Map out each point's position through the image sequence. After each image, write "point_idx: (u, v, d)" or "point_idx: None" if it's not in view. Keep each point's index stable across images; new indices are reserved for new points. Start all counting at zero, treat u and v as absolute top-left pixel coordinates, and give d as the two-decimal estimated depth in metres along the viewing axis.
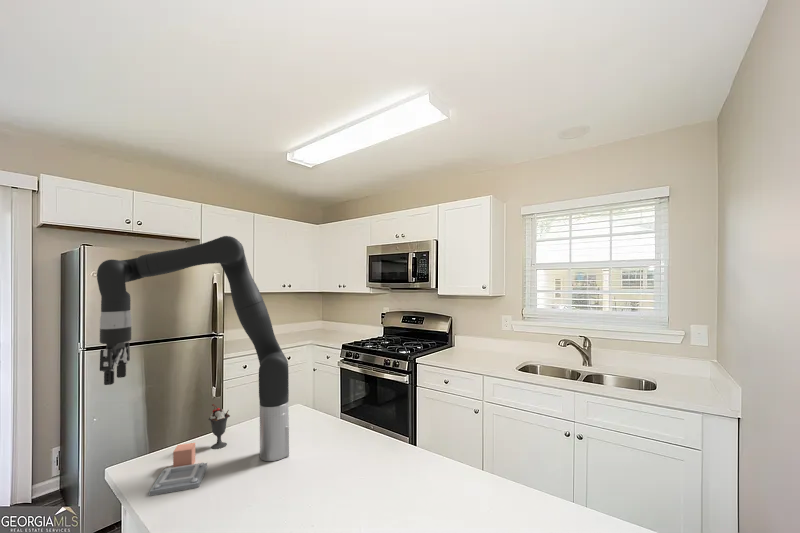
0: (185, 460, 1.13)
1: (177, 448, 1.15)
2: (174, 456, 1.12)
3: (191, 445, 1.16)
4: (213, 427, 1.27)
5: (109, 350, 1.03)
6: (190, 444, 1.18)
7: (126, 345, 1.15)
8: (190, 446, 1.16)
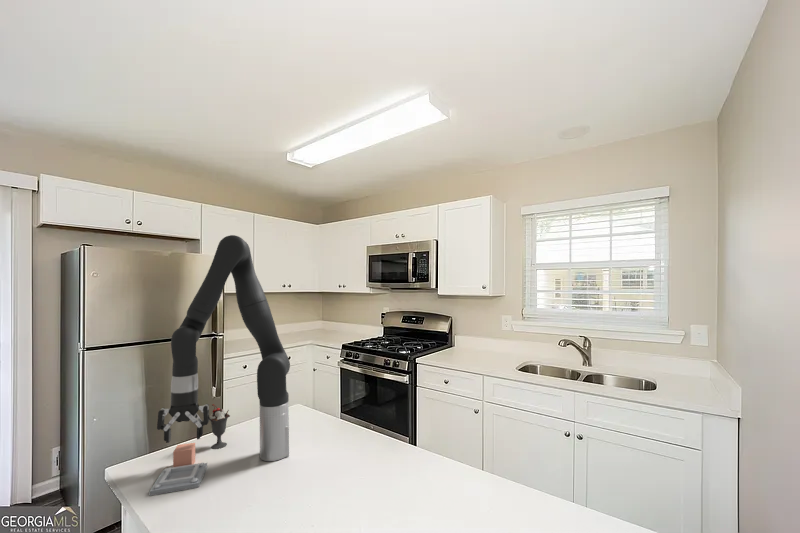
0: (185, 460, 1.13)
1: (177, 448, 1.15)
2: (174, 456, 1.12)
3: (191, 445, 1.16)
4: (213, 427, 1.27)
5: (208, 404, 1.19)
6: (190, 443, 1.18)
7: None
8: (190, 446, 1.16)
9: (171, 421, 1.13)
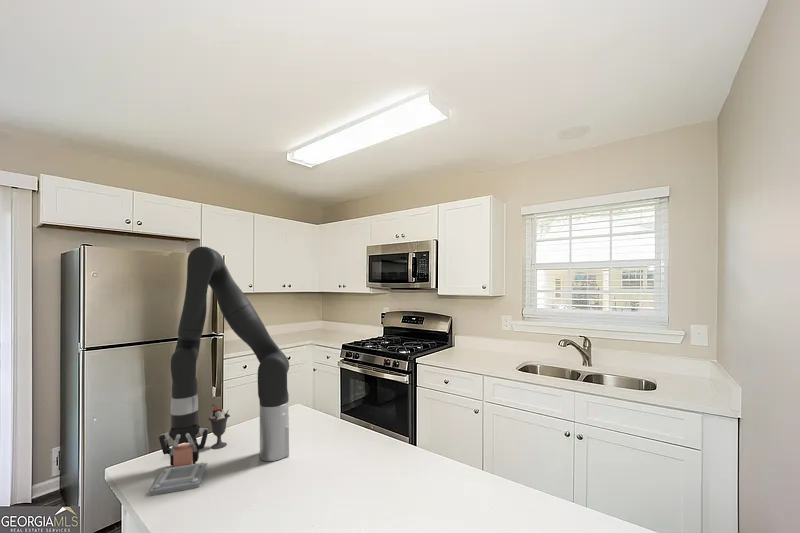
0: (185, 460, 1.13)
1: (177, 448, 1.15)
2: (174, 456, 1.12)
3: None
4: (213, 427, 1.27)
5: (208, 428, 1.18)
6: None
7: None
8: (190, 446, 1.16)
9: (174, 444, 1.13)
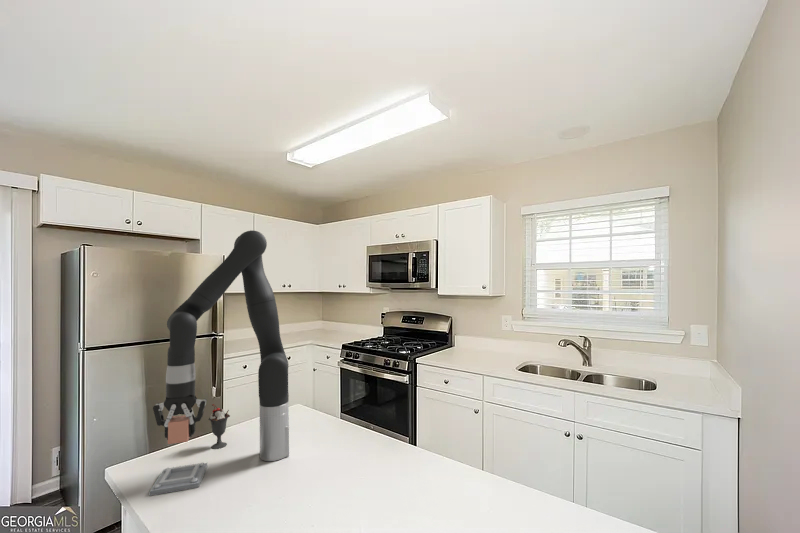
0: (180, 432, 1.05)
1: (172, 419, 1.07)
2: (169, 427, 1.05)
3: None
4: (213, 427, 1.27)
5: (206, 400, 1.11)
6: None
7: None
8: (186, 418, 1.08)
9: (169, 415, 1.05)
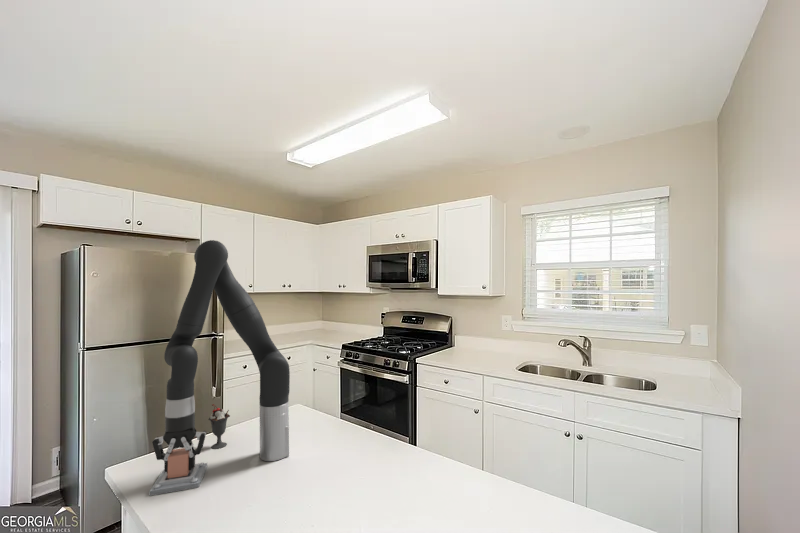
0: (180, 466, 1.05)
1: (172, 453, 1.06)
2: (168, 462, 1.04)
3: None
4: (213, 427, 1.27)
5: None
6: None
7: None
8: (186, 451, 1.08)
9: (169, 449, 1.05)
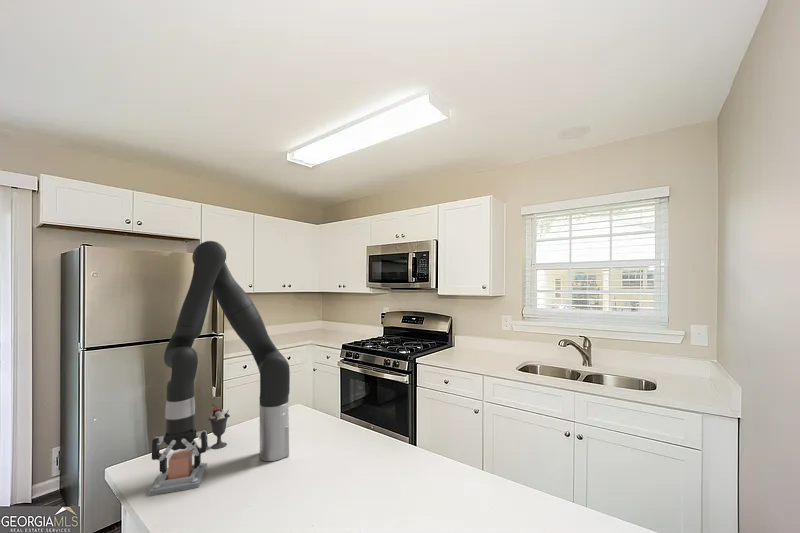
0: (181, 469, 1.05)
1: (172, 456, 1.06)
2: (169, 465, 1.04)
3: (188, 453, 1.08)
4: (213, 427, 1.27)
5: (206, 430, 1.10)
6: (187, 451, 1.09)
7: None
8: (187, 454, 1.08)
9: (167, 450, 1.05)
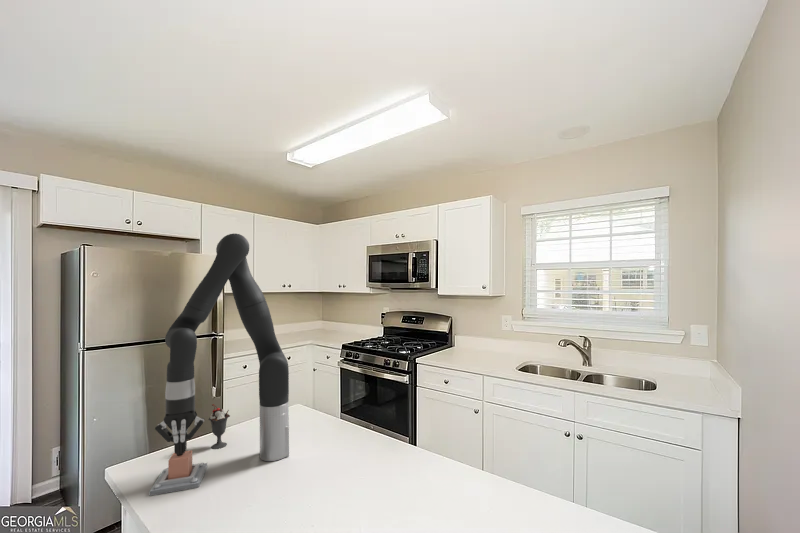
0: (181, 469, 1.05)
1: (172, 456, 1.06)
2: (169, 465, 1.04)
3: (188, 453, 1.08)
4: (213, 427, 1.27)
5: None
6: (187, 451, 1.09)
7: None
8: (187, 454, 1.08)
9: (174, 432, 1.05)
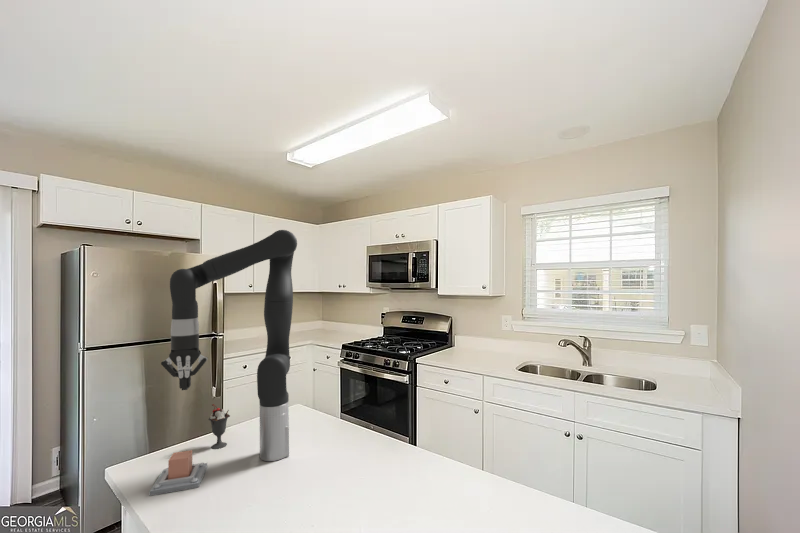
0: (181, 469, 1.05)
1: (172, 456, 1.06)
2: (169, 465, 1.04)
3: (188, 453, 1.08)
4: (213, 427, 1.27)
5: (207, 358, 1.16)
6: (187, 451, 1.09)
7: None
8: (187, 454, 1.08)
9: (179, 367, 1.11)
